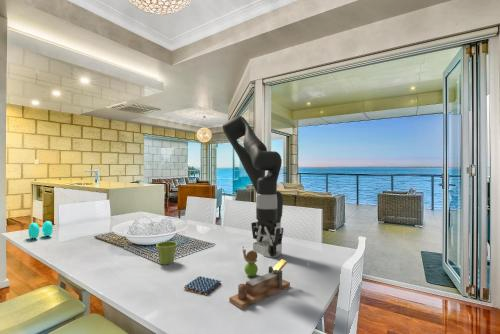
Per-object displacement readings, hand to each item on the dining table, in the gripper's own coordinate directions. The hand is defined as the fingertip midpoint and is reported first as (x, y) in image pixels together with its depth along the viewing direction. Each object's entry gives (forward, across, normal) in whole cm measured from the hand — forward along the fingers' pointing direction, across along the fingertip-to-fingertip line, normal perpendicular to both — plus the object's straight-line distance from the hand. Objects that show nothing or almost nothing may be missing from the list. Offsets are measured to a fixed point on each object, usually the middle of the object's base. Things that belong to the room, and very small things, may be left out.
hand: (266, 253), depth 89 cm
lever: (+8, 0, +5) cm, 9 cm away
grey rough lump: (-1, 0, 0) cm, 1 cm away
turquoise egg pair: (+13, -141, -56) cm, 152 cm away
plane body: (+14, 0, -2) cm, 14 cm away
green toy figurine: (+14, -14, +5) cm, 21 cm away
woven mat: (+14, -18, -15) cm, 28 cm away
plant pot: (+14, -50, -14) cm, 54 cm away
